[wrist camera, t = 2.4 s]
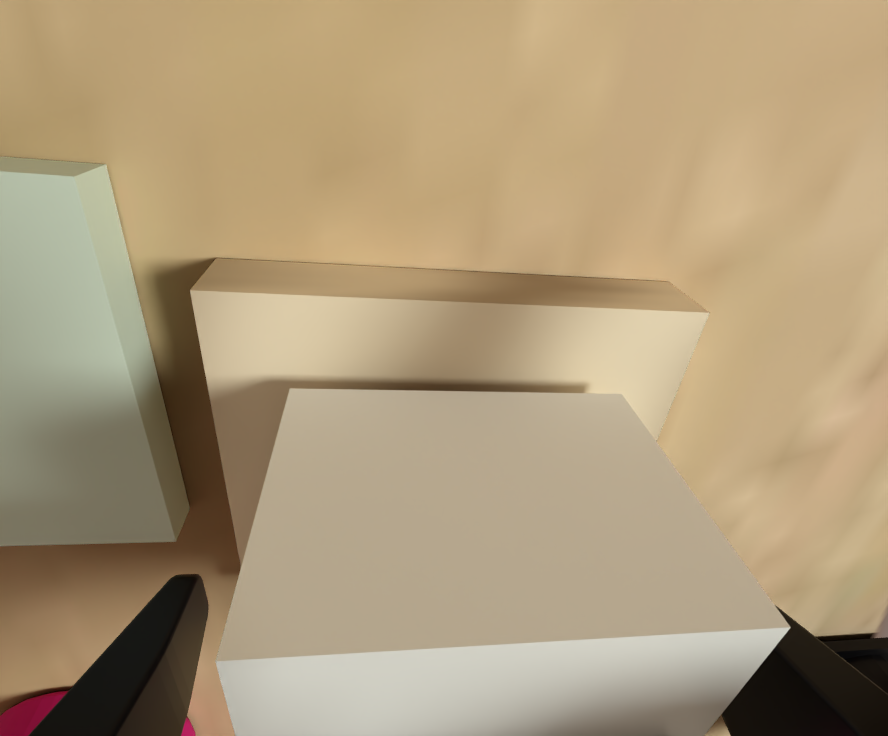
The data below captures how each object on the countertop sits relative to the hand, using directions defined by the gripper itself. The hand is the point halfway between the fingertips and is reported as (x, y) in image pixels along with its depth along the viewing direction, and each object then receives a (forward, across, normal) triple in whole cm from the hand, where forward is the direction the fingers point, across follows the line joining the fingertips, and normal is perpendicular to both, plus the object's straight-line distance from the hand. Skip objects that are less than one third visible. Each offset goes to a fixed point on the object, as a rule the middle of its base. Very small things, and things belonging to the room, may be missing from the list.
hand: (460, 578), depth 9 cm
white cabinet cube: (+2, 0, 0) cm, 2 cm away
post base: (+4, 0, 0) cm, 4 cm away
